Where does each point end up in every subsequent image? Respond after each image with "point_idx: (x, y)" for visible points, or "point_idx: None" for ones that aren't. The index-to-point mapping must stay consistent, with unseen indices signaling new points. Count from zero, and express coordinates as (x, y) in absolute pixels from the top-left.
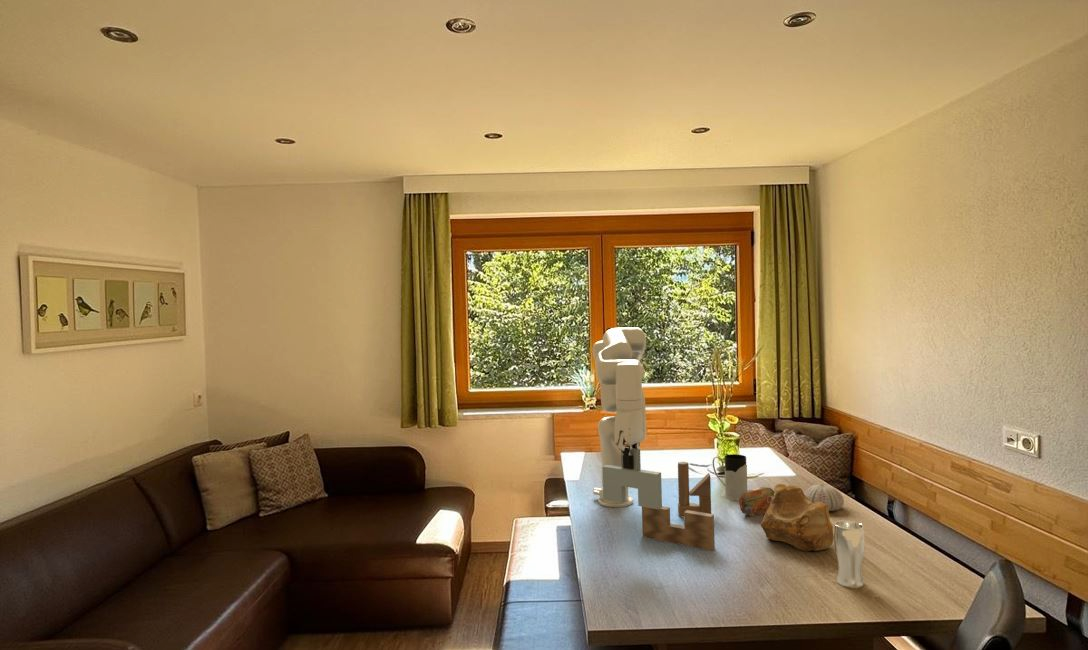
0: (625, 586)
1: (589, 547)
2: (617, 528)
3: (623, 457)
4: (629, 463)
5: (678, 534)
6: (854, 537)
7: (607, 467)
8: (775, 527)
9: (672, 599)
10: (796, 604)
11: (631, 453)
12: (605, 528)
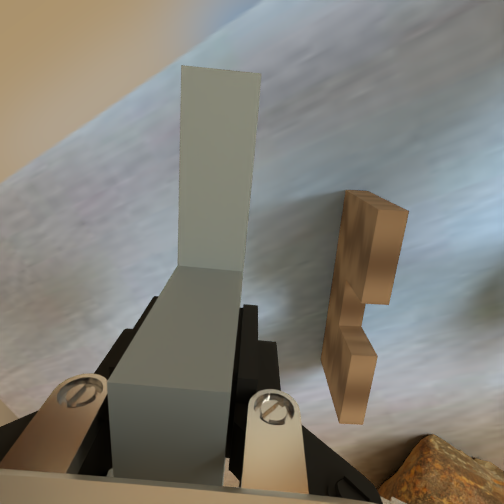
0: (50, 261)
1: None
2: (396, 84)
3: (123, 352)
4: None
5: (337, 300)
6: None
7: (181, 127)
8: (401, 491)
9: (59, 354)
10: None
11: (105, 476)
12: (384, 42)
